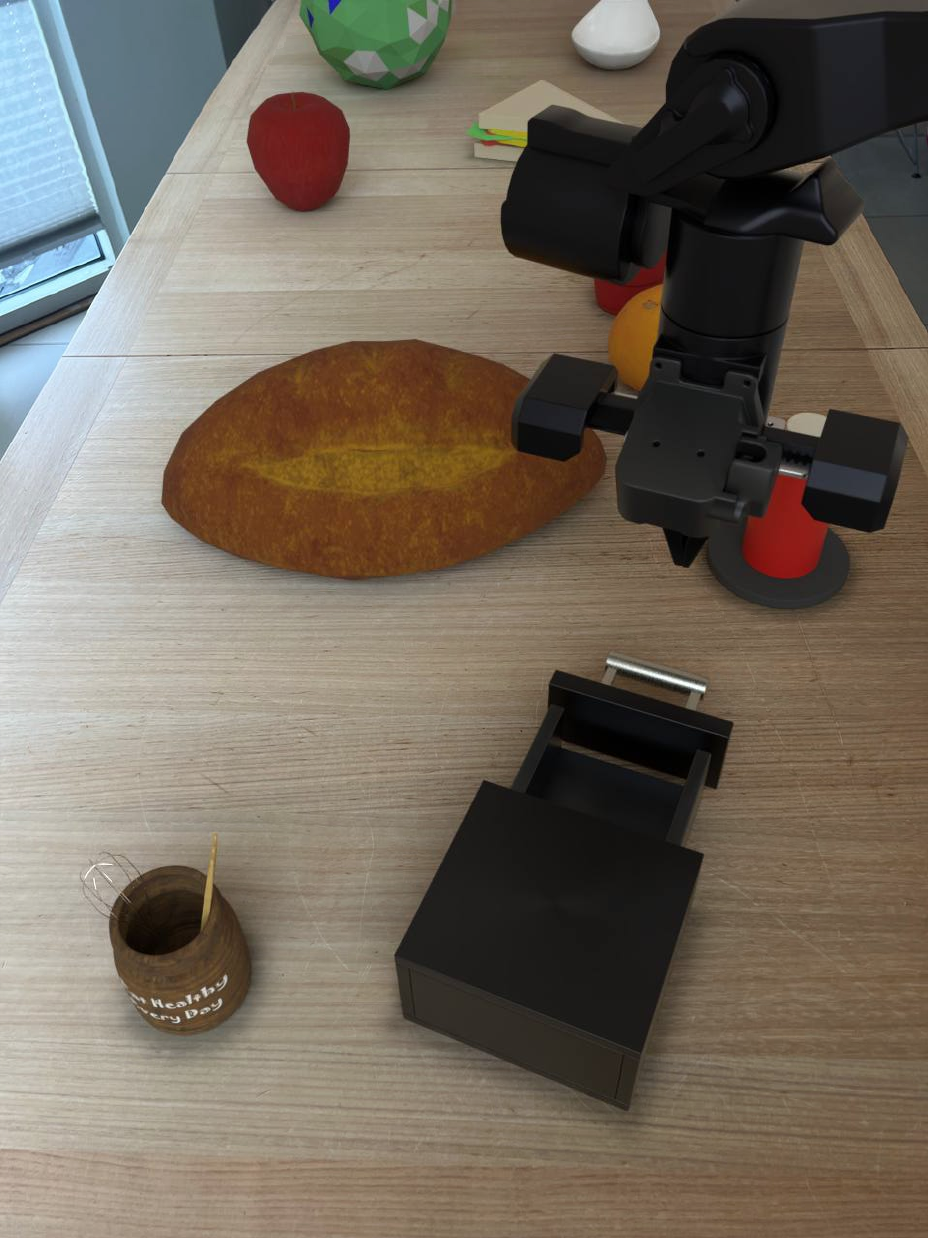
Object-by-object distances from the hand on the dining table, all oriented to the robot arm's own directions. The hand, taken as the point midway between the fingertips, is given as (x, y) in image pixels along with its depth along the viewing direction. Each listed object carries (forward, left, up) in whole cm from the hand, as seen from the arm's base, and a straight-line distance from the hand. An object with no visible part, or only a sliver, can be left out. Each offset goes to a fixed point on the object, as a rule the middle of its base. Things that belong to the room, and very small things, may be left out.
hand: (683, 562), depth 59 cm
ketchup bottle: (-4, -14, -10) cm, 17 cm away
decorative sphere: (+64, -90, -11) cm, 111 cm away
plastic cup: (+16, -45, -11) cm, 49 cm away
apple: (+55, -53, -11) cm, 77 cm away
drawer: (0, +9, -10) cm, 13 cm away
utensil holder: (+16, +28, -11) cm, 34 cm away
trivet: (-4, -14, -10) cm, 18 cm away
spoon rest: (+38, -112, -11) cm, 119 cm away
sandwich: (+34, -74, -10) cm, 82 cm away
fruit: (+9, -33, -11) cm, 36 cm away
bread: (+24, -10, -11) cm, 28 cm away
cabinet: (0, +20, -10) cm, 23 cm away
